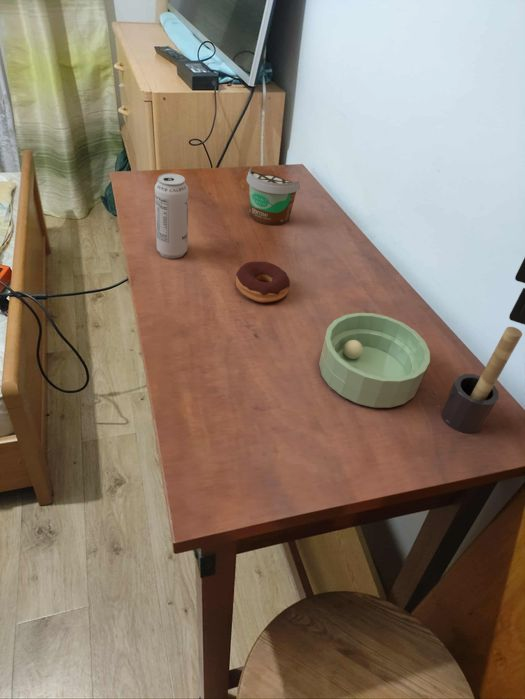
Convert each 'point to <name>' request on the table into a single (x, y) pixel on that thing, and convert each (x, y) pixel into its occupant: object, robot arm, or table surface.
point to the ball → (353, 349)
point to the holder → (467, 405)
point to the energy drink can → (171, 215)
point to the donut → (260, 291)
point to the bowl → (374, 360)
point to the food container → (271, 198)
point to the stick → (496, 363)
